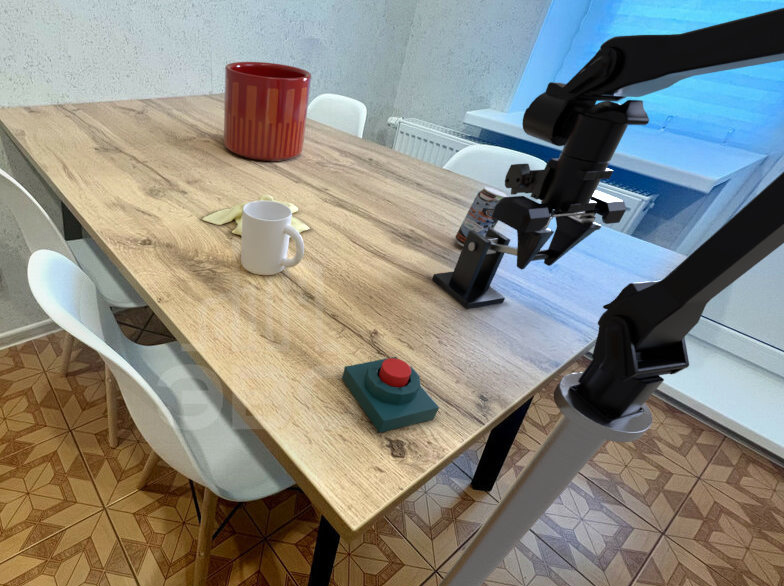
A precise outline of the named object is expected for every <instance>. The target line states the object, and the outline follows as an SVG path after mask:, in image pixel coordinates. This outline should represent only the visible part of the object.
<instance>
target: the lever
mask: <svg viewBox="0 0 784 586" xmlns="http://www.w3.org/2000/svg"><path fill="white" fill-rule="evenodd" d="M483 237H485V238H486V239H488V240H489V241H491V244H490V247H489V249H488V251H487V254H492V253H496V251H497V252H502V253H504V254H507V255H512V256H516V257H517V247H518V246H517V247H516V246H513V245H512V246H511V245H508V246H507V245H502V244H497V243H498V238H493V237H488V236H483ZM552 255H553V252H552V250H550V249H548V248H547V249H540V251H539V252H538V253H537V254H536V256H535V257H534V258H533V259H532V261H531V262H537V261H543V260H545V259H550V258H551V257H552Z"/></svg>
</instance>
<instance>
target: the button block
mask: <svg viewBox="0 0 784 586" xmlns="http://www.w3.org/2000/svg"><path fill="white" fill-rule="evenodd" d="M390 358H395V359H398V357H397V356H392V357H387V358H382V359H377V360H372V361H371V360H370V361H367V362H362V363H356V364H351V365H346V366H344V368H343V372H342V377H341V380H342V381H343V383H344V384H345V385H346V387H347V388H348V390H349V391H350V392H351V394H352V396H353V397H354V398H355V401H356V402H357V403H358V405H359V406H360V407H361V410H363V412H364V413H365V414H366V416H367V417H368V419H369V421H370V422H371V423H372V424H373V426H374V427H375V429H376V430H377V432H378V433H379V434H381V433H384V432H389V431H393V430H396V429H397V430H398V429H400V428H404V427H409V426H412V425H415V424H416V425H417V424H420V423H425V422H429V421H432V420H435V417H436V415H437V413H438V411H439V409H440V406H439V405H438V404H437V403H436V402H435V400H433V398H432V397H431V396H430V395H429V393H428V392H427V391H426V390H425V389H424V387H422V385H421V377H420V375H419V374H418V372H417V371H416V370H415V369H414V368H413V367H412V366H411V365H409V366H410V368H411V374H410V377H409V380H408V382H407V384H406V385H405V386H403V387H400V388H398V387H392V386H389V385H387V384H385V383H383V382H382V381H381V380H380V378H379V373H380V369H381V366H382V363H383V362H384V361H385V360H386V359H390Z"/></svg>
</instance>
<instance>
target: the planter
mask: <svg viewBox="0 0 784 586" xmlns="http://www.w3.org/2000/svg"><path fill="white" fill-rule="evenodd" d="M311 82H312V73H310V72H309V71H308V70H306V69H303V68H300V67H296V66H291V65H288V64H281V63H275V62H274V63H273V62H265V61H264V62H263V61H235V62H229V63H228V64H226V65H225V67H224V104H223V105H224V106H223V109H224V110H223V112H224V113H223V143H224V146H225V148H226V149H227V150H228V151H230V152H231V153H233V154H235V155H236V156H239V157H242V158H244V159H249V160H253V161H261V162H283V161H288V160H292V159H294V158H297V157H299V156H300V155H301V154H302V152H303V150H304V142H305V135H306V126H307V119H308V110H309V100H310V94H311V93H310V92H311V85H312V84H311Z"/></svg>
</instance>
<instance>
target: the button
mask: <svg viewBox="0 0 784 586" xmlns="http://www.w3.org/2000/svg"><path fill="white" fill-rule="evenodd" d="M389 358H390V359H387V358H385V359H386V360H385V361H384V362H383V363H382V366H381V369H380V373H379V378H380V380H381V381H382V382H383V383H385V384H387V385H389V386H392V387H398V388H400V387H403V386H405V385H406V384H407V382H408V380H409V377H410V374H411V368H410V366H411V365H409V364H408V363H407V362H406V361H404V360H402V359H400V358H397V359H395V358H392V357H389Z"/></svg>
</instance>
